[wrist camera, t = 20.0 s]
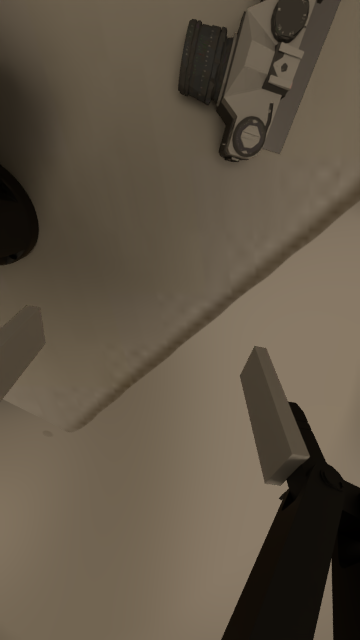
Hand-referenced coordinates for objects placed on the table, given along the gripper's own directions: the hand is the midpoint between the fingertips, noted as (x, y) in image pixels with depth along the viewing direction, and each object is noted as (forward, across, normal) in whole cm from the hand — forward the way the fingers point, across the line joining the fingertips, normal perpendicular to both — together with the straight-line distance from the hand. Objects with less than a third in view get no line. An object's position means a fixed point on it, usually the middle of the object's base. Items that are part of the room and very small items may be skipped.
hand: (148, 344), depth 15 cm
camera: (+27, +3, +19) cm, 33 cm away
